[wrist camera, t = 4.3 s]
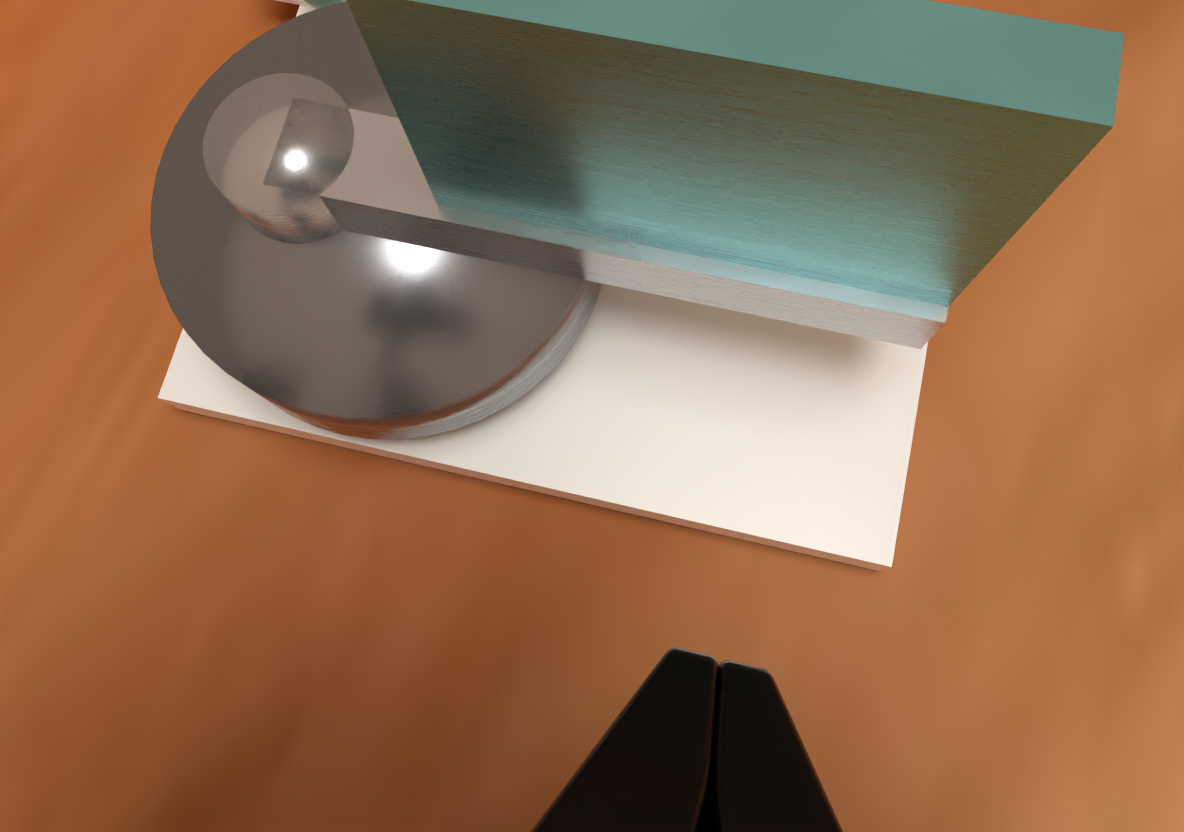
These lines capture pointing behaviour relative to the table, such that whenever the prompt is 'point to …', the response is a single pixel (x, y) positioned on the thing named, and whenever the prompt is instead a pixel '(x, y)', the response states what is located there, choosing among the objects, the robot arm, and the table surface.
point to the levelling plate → (672, 423)
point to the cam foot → (597, 182)
